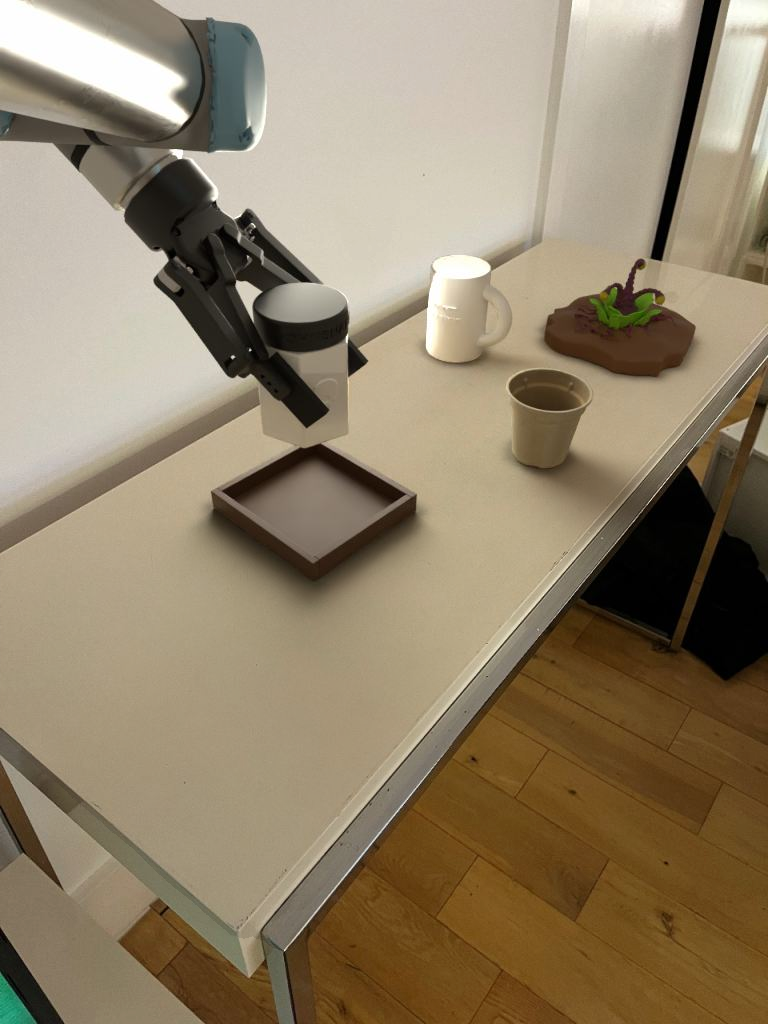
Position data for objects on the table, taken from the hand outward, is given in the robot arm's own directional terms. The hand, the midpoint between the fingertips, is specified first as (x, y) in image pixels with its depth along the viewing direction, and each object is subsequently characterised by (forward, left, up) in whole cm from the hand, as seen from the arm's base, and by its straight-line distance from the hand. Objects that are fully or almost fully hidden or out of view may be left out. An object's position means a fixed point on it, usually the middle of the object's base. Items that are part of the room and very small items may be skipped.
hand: (338, 393), depth 70 cm
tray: (0, +4, -16) cm, 16 cm away
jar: (-1, +3, -4) cm, 5 cm away
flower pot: (+25, -7, -16) cm, 30 cm away
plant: (+57, +1, -16) cm, 59 cm away
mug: (+38, +14, -16) cm, 43 cm away
